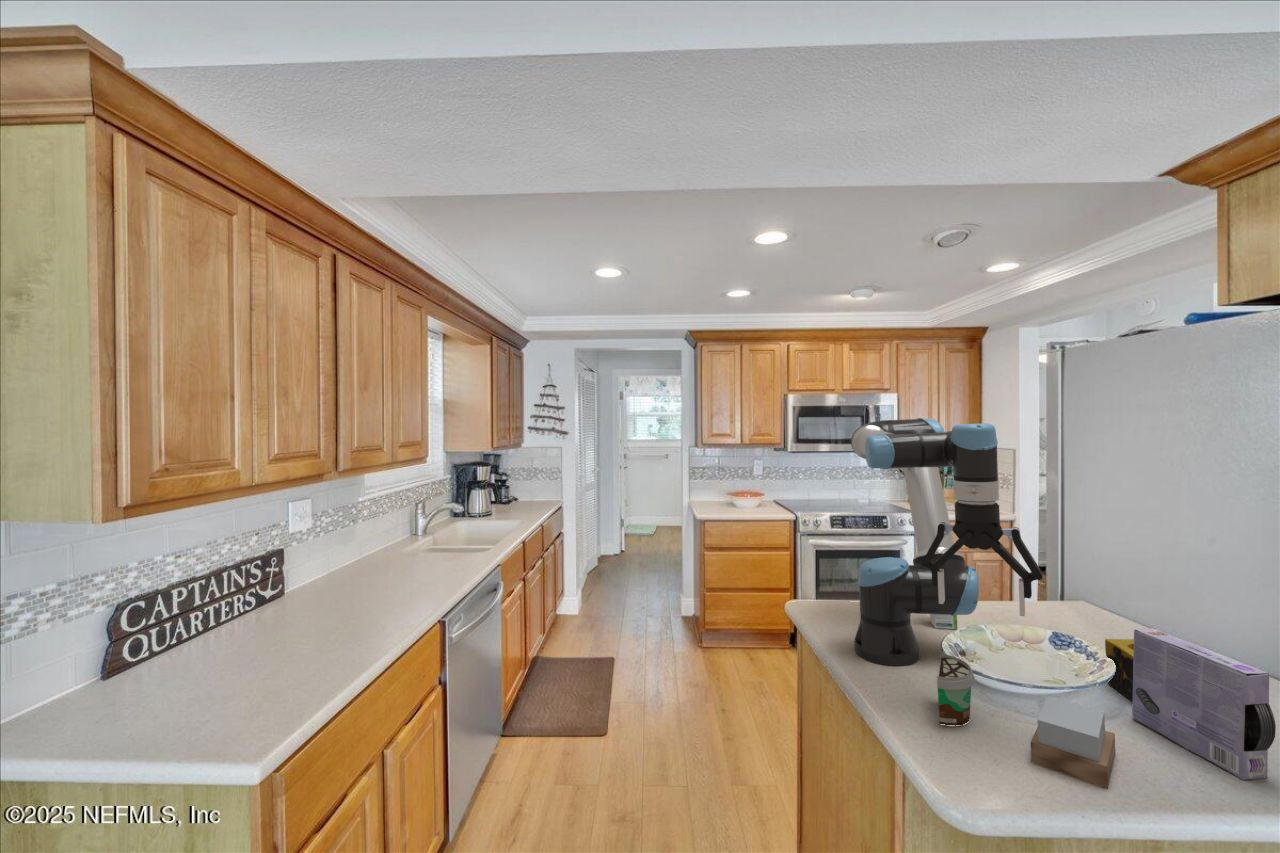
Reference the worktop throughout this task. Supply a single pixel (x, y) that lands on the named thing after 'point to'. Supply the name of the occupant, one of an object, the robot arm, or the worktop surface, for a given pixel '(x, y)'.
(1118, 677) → the yellow black cube
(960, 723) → the food container
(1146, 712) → the cake pan box
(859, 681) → the worktop surface
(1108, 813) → the worktop surface
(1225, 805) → the worktop surface
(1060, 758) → the walnut base block
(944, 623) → the syrup box
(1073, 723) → the slate top block
